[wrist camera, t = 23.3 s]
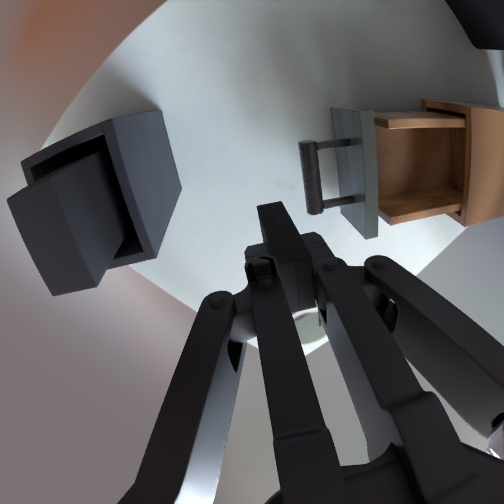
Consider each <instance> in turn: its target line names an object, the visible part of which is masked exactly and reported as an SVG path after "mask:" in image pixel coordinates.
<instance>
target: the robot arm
mask: <svg viewBox="0 0 504 504" xmlns="http://www.w3.org/2000/svg"><path fill="white" fill-rule="evenodd" d="M257 211H258V216H259V221H260V226H261V232H262V237H263V242H264V243H261V244H256V245H252V246H248V247H247V248H246V250H245V252H244V253H245V259H246V263H245V272H246V276H247V280H248V285H247V286H246V288H245V289H244V290H242V291H241V292H239V293H237V294H235V295H232V294H231V293H230V292H228V291H216V292H213V293H211V294H209V295H208V296H206V297H205V298H204V300H203V301H202V303H201V306H200V308H199V311H198V313H197V316H196V318H195V321H194V323H193V326H192V328H191V331H190V333H189V336H188V338H187V341H186V343H185V346H184V349H183V351H182V354H181V356H180V359H179V362H178V364H177V367H176V369H175V372H174V375H173V377H172V380H171V383H170V385H169V388H168V391H167V393H166V396H165V399H164V402H163V404H162V407H161V410H160V412H159V415H158V418H157V420H156V423H155V426H154V429H153V431H152V434H151V437H150V440H149V443H148V445H147V448H146V451H145V454H144V457H143V460H142V463H141V466H140V469H139V472H138V474H137V477H136V480H135V483H134V484H133V485H132V486H131V488H130V489H129V490H128V491H127V492H126V494H125V495H124V496H123V497H122V499H121V500H120V501H119V502H118V503H117V504H213V502H214V498H215V494H216V490H217V485H218V480H219V476H220V471H221V467H222V462H223V457H224V453H225V448H226V443H227V439H228V433H229V429H230V424H231V420H232V415H233V410H234V405H235V400H236V396H237V391H238V386H239V380H240V376H241V371H242V366H243V361H244V356H245V351H246V346H247V341H248V340H250V339H252V338H254V337H256V336H257V341H258V347H259V353H260V359H261V366H262V371H263V378H264V384H265V390H266V396H267V402H268V408H269V414H270V420H271V426H272V431H273V446H274V453H275V459H276V465H277V471H278V477H279V483H280V488H281V489H280V490H279V491H277V492H276V493H275V494H274V495H272V496H271V497H270V498H269V499H268V500H267V502H265V504H504V346H503V345H502V344H500V343H499V342H498V341H497V340H496V339H495V338H494V337H492V336H491V335H490V334H489V333H488V332H486V331H485V330H484V329H483V328H482V327H480V326H479V325H478V324H477V323H476V322H474V321H473V320H472V319H471V318H469V317H468V316H467V315H466V314H464V313H463V312H462V311H461V310H459V309H458V308H457V307H456V306H454V305H453V304H452V303H450V302H449V301H448V300H446V299H445V298H444V297H443V296H441V295H440V294H439V293H437V292H436V291H435V290H433V289H432V288H431V287H429V286H428V285H427V284H425V283H424V282H422V281H421V280H420V279H419V278H417V277H416V276H414V275H413V274H412V273H410V272H409V271H407V270H406V269H405V268H403V267H402V266H400V265H399V264H398V263H396V262H395V261H393V260H392V259H390V258H388V257H386V256H381V255H375V256H371V257H369V258H367V259H366V260H365V262H364V266H347V264H346V263H345V261H343V260H342V259H340V258H337V257H335V256H334V254H333V253H332V251H331V250H330V248H329V247H328V245H327V244H326V242H325V241H324V239H323V238H322V236H321V235H319V234H317V233H316V232H310V233H305V234H301V235H300V234H299V232H298V230H297V228H296V226H295V225H294V223H293V221H292V219H291V217H290V216H289V214H288V212H287V210H286V209H285V207H284V205H283V203H282V202H281V201H279V202H274V203H269V204H264V205H259V206H257ZM315 299H316V302H317V304H318V315H319V327H320V326H322V324H323V327H324V329H325V331H326V334H327V336H328V339H329V342H330V344H331V347H332V349H333V352H334V354H335V357H336V359H337V362H338V365H339V367H340V370H341V372H342V375H343V378H344V380H345V383H346V385H347V388H348V391H349V394H350V396H351V399H352V402H353V404H354V407H355V410H356V413H357V415H358V418H359V421H360V424H361V426H362V429H363V432H364V435H365V438H366V441H367V447H368V448H367V449H368V457H369V461H370V463H367V464H362V465H350V466H340V463H339V460H338V456H337V453H336V449H335V446H334V442H333V439H332V436H331V433H330V431H329V429H328V428H327V427H326V425H325V422H324V419H323V416H322V412H321V409H320V405H319V402H318V398H317V395H316V392H315V388H314V385H313V382H312V379H311V375H310V372H309V369H308V365H307V362H306V359H305V355H304V352H303V349H302V346H301V342H300V339H299V336H298V333H297V329H296V326H295V323H294V320H293V317H292V313H293V312H297V311H301V310H306V309H310V308H314V307H316V304H315ZM390 299H391V300H393V301H394V302H395V303H393V302H392V301H390ZM321 322H322V323H321ZM405 358H406V359H407V360H408V361H409V362H410V363H411V364H412V365H413V366H414V367H415V368H416V369H417V370H418V371H419V372H420V373H421V375H422V376H423V377H424V378H425V379H426V380H427V381H428V382H429V383H430V384H431V385H432V386H433V387H434V388H435V389H436V390H437V392H438V393H439V394H440V395H441V396H442V397H443V398H444V399H445V400H446V401H447V402H448V403H449V404H450V405H451V407H452V408H453V409H454V410H455V411H456V412H457V413H458V414H459V415H460V417H461V418H462V419H463V420H464V421H465V422H466V423H467V424H468V425H469V426H470V427H471V428H472V429H473V430H474V431H476V432H477V433H478V434H479V435H481V436H482V437H484V438H485V439H487V440H489V444H488V445H487V453H485V452H483V451H481V450H478V449H476V448H474V447H472V446H469V445H467V444H465V443H462V442H461V441H460V439H459V437H458V435H457V433H456V431H455V429H454V427H453V425H452V423H451V421H450V419H449V417H448V415H447V413H446V411H445V409H444V407H443V406H442V404H441V402H440V400H439V398H438V397H437V396H436V394H434V393H433V392H431V391H430V392H429V391H428V392H425V391H424V390H423V389H422V387H421V386H420V384H419V382H418V380H417V379H416V377H415V375H414V373H413V371H412V369H411V368H410V366H409V364H408V362H407V361H406V359H405ZM495 456H497V457H495Z"/></svg>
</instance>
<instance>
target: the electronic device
mask: <svg viewBox="0 0 504 504" xmlns="http://www.w3.org/2000/svg"><path fill="white" fill-rule="evenodd" d="M445 1H446V2H447V4H448V5H449V7H450V8H451V10H452V11H453V13H454V14H455V16H456V17H457V19H458V21H459V22H460V24H461V25H462V27H463V29H464V30H465V32H466V34H467V35H468V37H469V39H470V41H471V42H472V44H473V45H474V46H475V47H476V48H478V49H491V50H504V0H445Z"/></svg>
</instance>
